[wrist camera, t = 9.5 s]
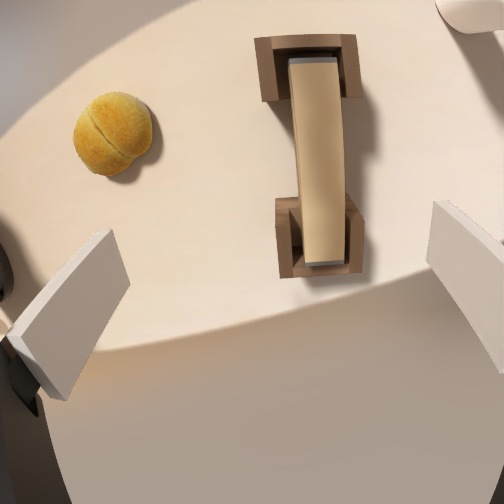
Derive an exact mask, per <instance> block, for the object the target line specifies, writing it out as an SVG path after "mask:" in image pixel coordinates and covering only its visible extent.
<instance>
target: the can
mask: <svg viewBox="0 0 504 504" xmlns="http://www.w3.org/2000/svg"><path fill="white" fill-rule="evenodd" d="M435 2H436V5H437V8H438V10H439V12H440V14H441V15H442V17H443V18H444V20H445V21H446V22H447V23H448V24H449V25H450V26H451V27H453V28H454V29H456V30H457V31H459V32H462V33H465V34H474V33H482V32H489V31H497V30H504V0H435Z"/></svg>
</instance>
